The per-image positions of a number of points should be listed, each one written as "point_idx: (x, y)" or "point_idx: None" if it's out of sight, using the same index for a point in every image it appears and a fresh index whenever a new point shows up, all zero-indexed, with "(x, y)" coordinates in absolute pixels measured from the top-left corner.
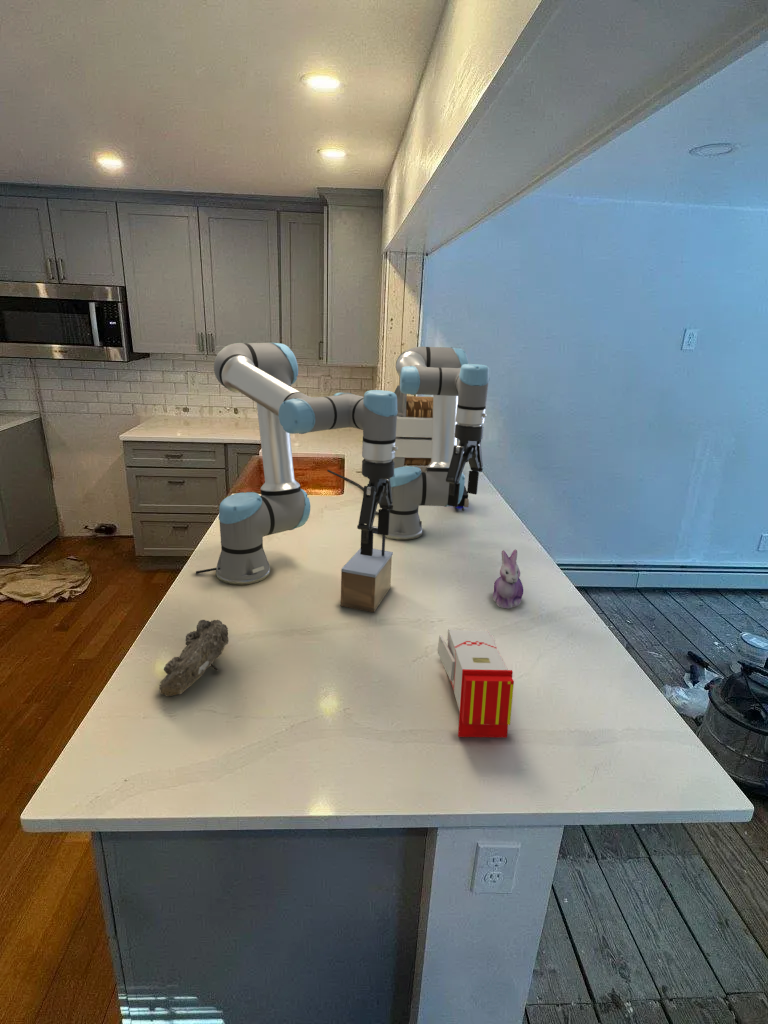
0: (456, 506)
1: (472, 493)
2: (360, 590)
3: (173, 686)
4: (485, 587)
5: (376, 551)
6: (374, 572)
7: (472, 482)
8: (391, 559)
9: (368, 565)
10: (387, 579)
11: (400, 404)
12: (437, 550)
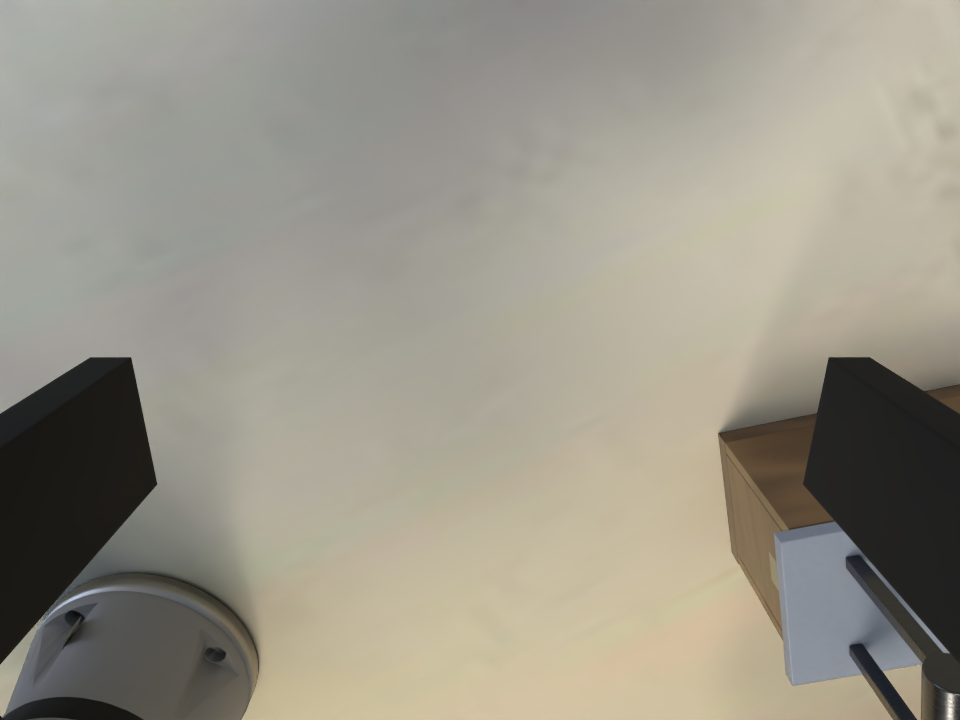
0: (875, 364)
1: (137, 410)
2: None
3: None
4: (454, 39)
5: (816, 607)
6: None
7: (31, 529)
8: (787, 515)
9: None
10: (803, 456)
11: None
12: (208, 440)
